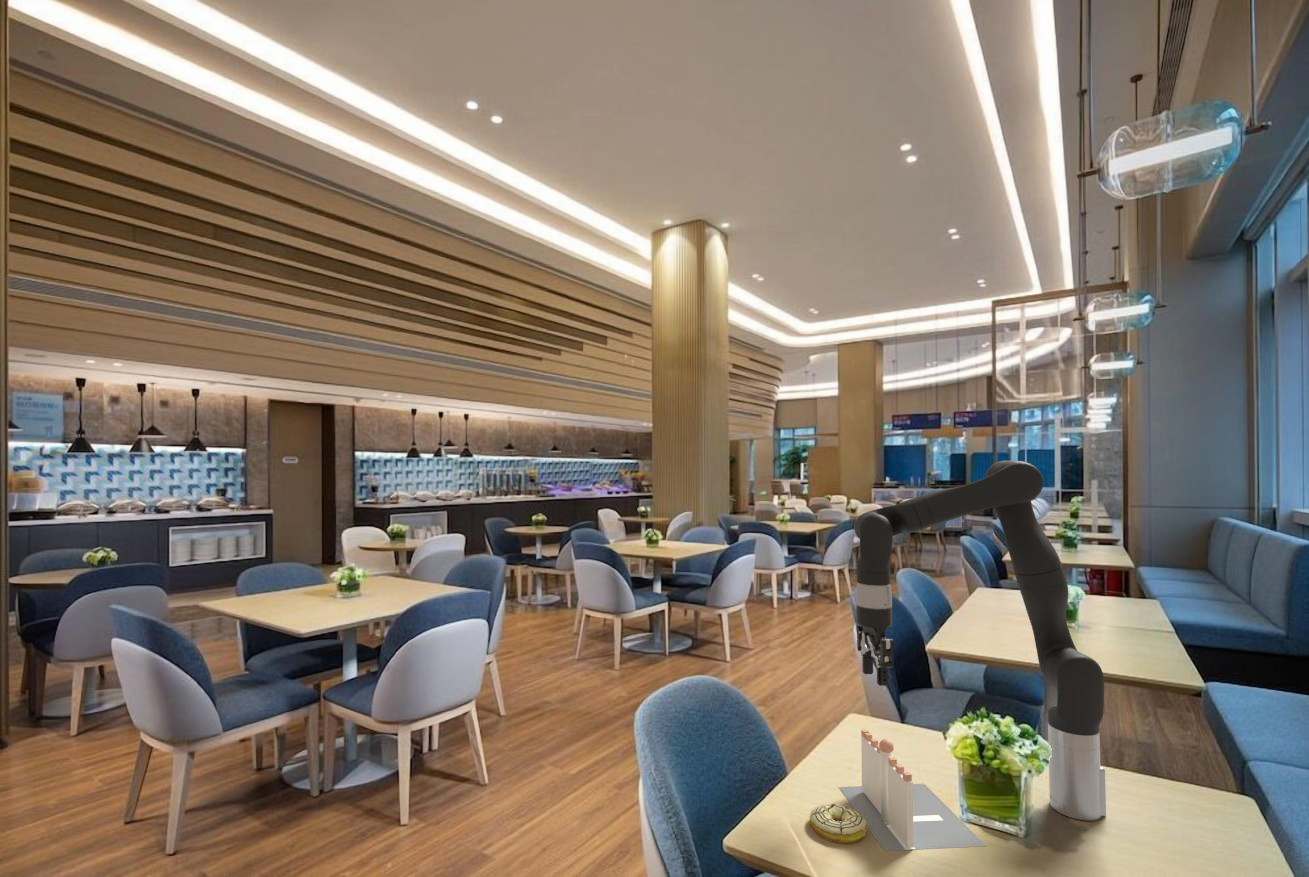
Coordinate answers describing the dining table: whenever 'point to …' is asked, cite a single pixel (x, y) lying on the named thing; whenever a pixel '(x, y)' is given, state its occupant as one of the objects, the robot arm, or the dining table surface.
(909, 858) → the dining table surface
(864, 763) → the white crenellated wall panel
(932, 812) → the card
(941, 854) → the dining table surface
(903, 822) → the fence post and fixed panel
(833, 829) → the decorated donut
